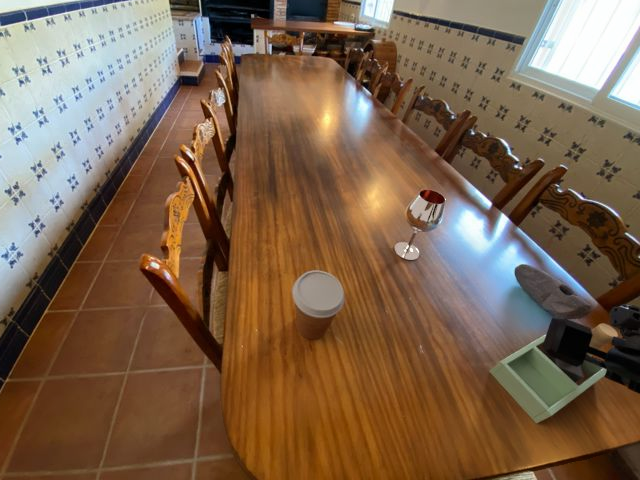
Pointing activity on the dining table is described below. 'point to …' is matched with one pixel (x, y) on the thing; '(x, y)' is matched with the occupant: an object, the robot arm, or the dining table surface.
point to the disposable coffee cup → (316, 302)
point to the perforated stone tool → (551, 293)
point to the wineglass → (421, 219)
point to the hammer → (599, 339)
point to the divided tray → (541, 381)
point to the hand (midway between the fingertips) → (585, 348)
